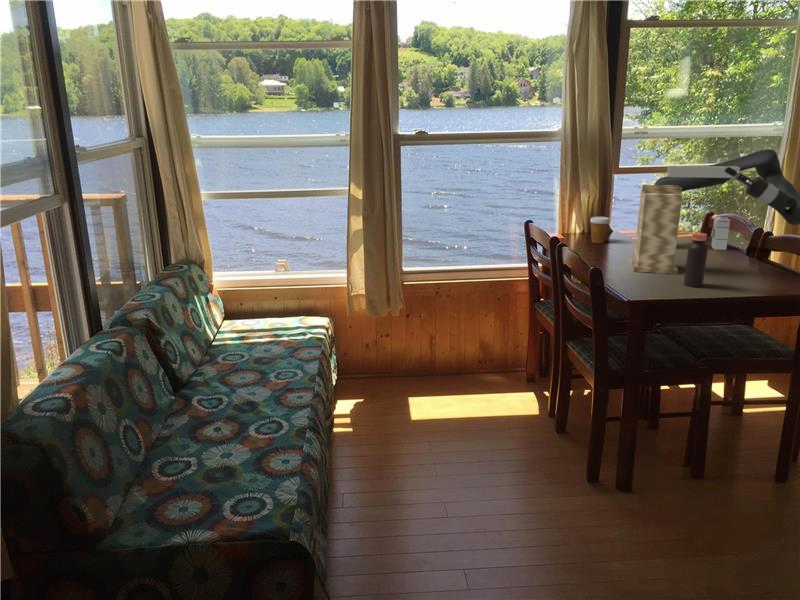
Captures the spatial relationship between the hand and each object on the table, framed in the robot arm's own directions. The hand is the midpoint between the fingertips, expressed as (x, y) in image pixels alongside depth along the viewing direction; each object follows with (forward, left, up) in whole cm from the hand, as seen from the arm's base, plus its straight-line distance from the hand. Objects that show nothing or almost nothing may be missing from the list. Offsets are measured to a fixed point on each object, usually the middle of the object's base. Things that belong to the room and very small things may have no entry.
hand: (725, 168), depth 261 cm
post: (-16, -16, -42) cm, 48 cm away
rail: (-6, -6, -3) cm, 9 cm away
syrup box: (-22, +40, -42) cm, 62 cm away
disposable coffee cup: (-64, +5, -42) cm, 77 cm away
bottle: (+8, -25, -42) cm, 50 cm away
